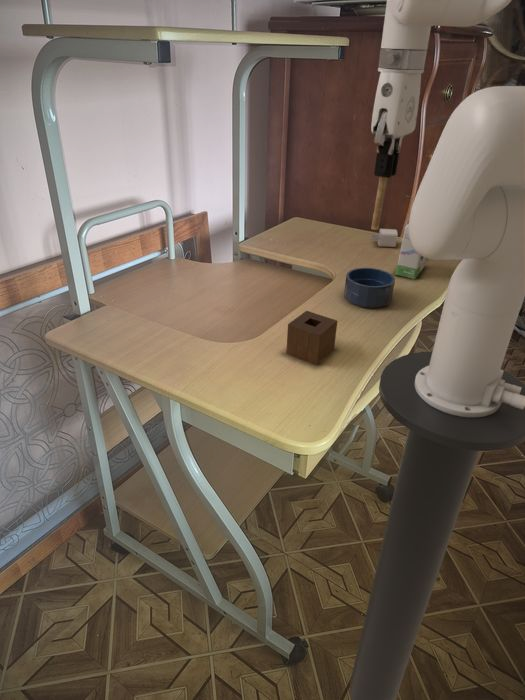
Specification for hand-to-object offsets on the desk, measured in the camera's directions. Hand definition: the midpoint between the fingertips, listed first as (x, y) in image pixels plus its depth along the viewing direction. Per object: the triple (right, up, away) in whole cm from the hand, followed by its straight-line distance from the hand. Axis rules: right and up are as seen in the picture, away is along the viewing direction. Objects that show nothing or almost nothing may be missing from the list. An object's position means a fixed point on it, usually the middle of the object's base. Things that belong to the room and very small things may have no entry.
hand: (384, 174), depth 93 cm
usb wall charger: (+9, -4, +42) cm, 43 cm away
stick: (-1, -9, +6) cm, 11 cm away
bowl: (0, -22, +13) cm, 26 cm away
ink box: (+13, -14, +27) cm, 33 cm away
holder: (-14, -33, -5) cm, 37 cm away
